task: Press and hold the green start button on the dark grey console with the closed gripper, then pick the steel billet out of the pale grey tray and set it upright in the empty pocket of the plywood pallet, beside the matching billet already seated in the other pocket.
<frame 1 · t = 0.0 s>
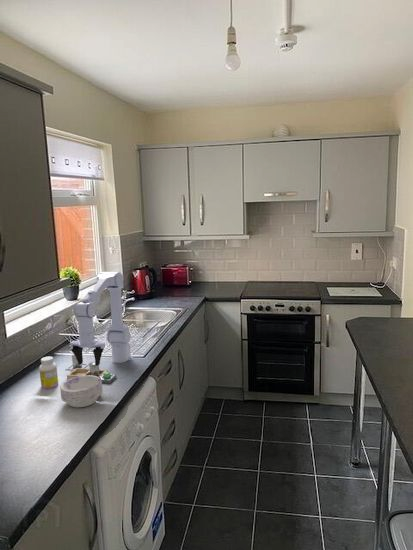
hand: (89, 364, 174), 10 cm above the worktop, tool pointing down, fingers open, 7 cm apart
pallet: (87, 378, 185), on the worktop
start button: (106, 376, 180), point 3 cm above the worktop, slide at 0.0 cm
billet: (77, 367, 196), point 1 cm above the worktop, touching tray
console: (107, 382, 180), on the worktop
tray: (77, 369, 196), on the worktop
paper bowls: (82, 402, 164), on the worktop
seated billet: (95, 376, 184), point 1 cm above the worktop, touching pallet
supplement bottle: (50, 388, 177), on the worktop
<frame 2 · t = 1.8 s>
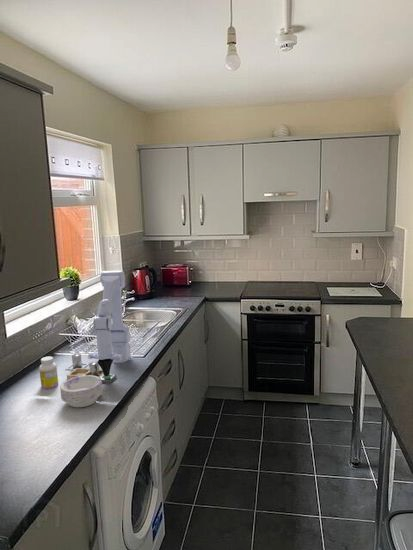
hand: (106, 375, 180), 3 cm above the worktop, tool pointing down, fingers closed, pressing on start button
start button: (107, 378, 180), point 2 cm above the worktop, slide at 0.9 cm, touching gripper
everything else where it was.
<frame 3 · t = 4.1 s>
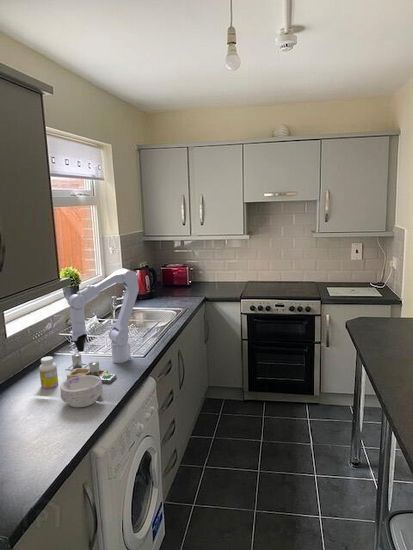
hand: (80, 351, 191), 10 cm above the worktop, tool pointing down, fingers closed
start button: (107, 378, 180), point 2 cm above the worktop, slide at 0.9 cm
everything else where it was.
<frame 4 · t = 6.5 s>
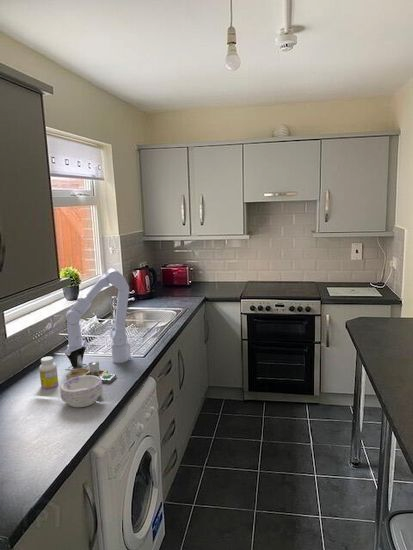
hand: (77, 364, 195), 2 cm above the worktop, tool pointing down, fingers closed on billet, 4 cm apart
billet: (77, 367, 196), point 1 cm above the worktop, touching gripper, tray
everything else where it was.
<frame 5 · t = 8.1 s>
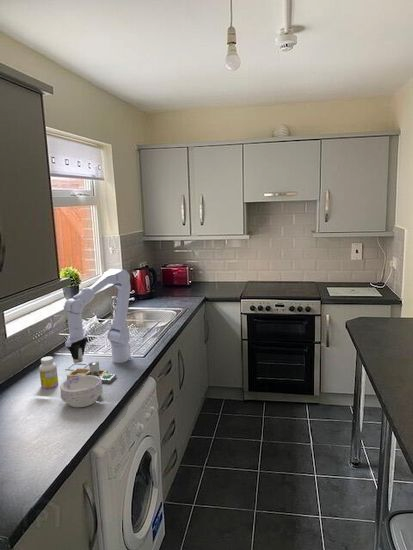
hand: (78, 357, 185), 9 cm above the worktop, tool pointing down, fingers closed on billet, 4 cm apart
billet: (78, 361, 185), point 7 cm above the worktop, touching gripper
everything else where it was.
when the fingers open (4 cm above the worktop, at t = 9.6 s): billet stays where it is, resting on pallet.
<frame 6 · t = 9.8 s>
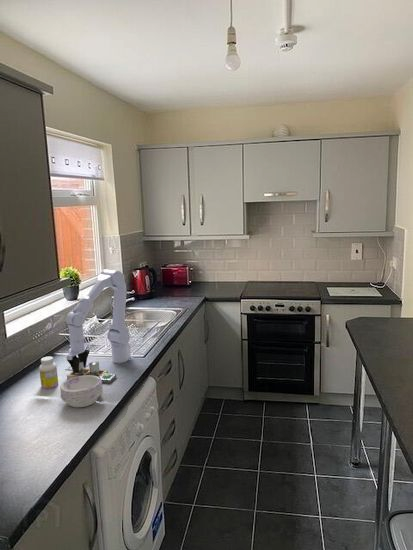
hand: (79, 369, 186), 4 cm above the worktop, tool pointing down, fingers open, 5 cm apart
billet: (79, 375, 186), point 1 cm above the worktop, touching pallet
everything else where it was.
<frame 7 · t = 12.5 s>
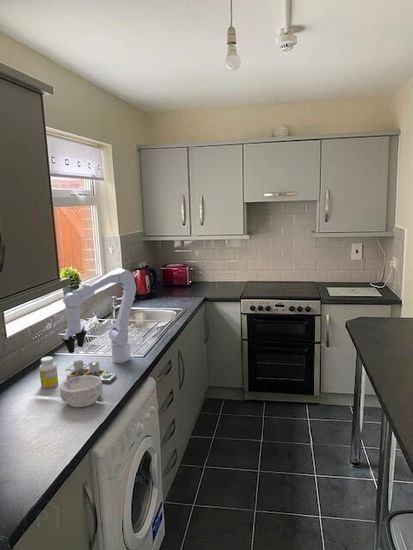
hand: (76, 349, 191), 10 cm above the worktop, tool pointing down, fingers open, 7 cm apart
nothing on the worktop moved.
at the end: billet 0.4 cm from the target spot on the pallet, point 1.0 cm above the pallet's base; billet tilted 1°; start button slide at 0.9 cm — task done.
